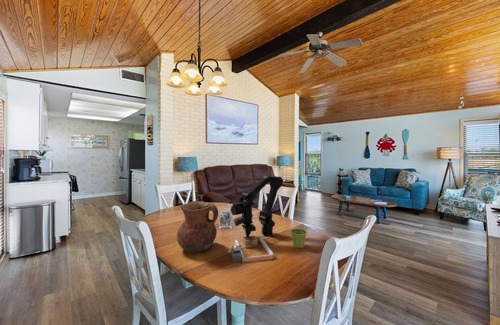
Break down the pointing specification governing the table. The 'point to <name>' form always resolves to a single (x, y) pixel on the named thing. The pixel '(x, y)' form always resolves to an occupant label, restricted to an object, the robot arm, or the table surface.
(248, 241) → the crate
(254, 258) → the bay
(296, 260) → the table surface
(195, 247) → the jug
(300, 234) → the plant pot
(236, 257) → the winch
